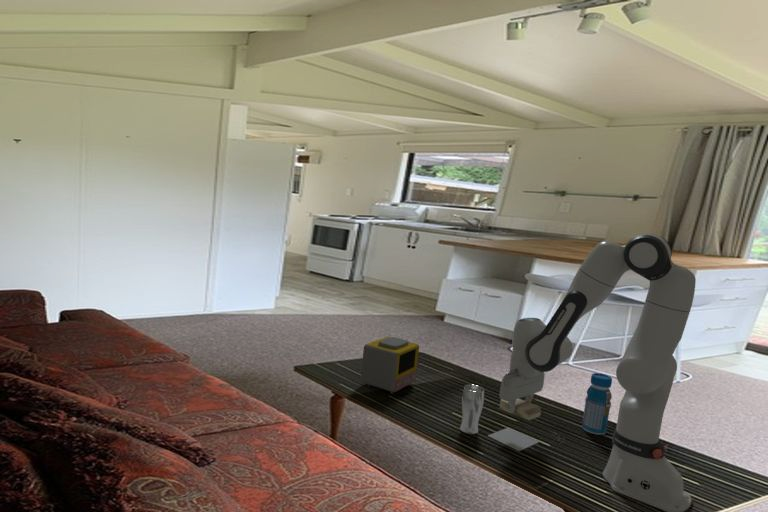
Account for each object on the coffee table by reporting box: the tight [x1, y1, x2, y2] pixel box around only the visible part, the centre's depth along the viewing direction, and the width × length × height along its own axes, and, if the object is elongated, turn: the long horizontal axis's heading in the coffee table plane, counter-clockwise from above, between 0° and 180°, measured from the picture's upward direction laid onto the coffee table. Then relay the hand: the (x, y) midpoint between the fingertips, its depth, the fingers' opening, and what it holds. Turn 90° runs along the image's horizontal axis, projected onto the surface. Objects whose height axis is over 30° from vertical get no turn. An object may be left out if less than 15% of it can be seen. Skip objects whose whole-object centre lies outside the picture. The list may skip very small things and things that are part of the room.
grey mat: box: [487, 427, 540, 452], centre depth 167 cm, size 12×12×1 cm
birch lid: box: [499, 398, 542, 421], centre depth 165 cm, size 11×7×3 cm, turn 42°
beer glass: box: [459, 384, 485, 435], centre depth 170 cm, size 7×7×15 cm
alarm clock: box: [360, 336, 420, 395], centre depth 204 cm, size 20×16×18 cm
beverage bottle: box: [581, 372, 613, 436], centre depth 181 cm, size 8×8×20 cm
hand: (519, 408), depth 166 cm, fingers closed on birch lid, 7 cm apart
